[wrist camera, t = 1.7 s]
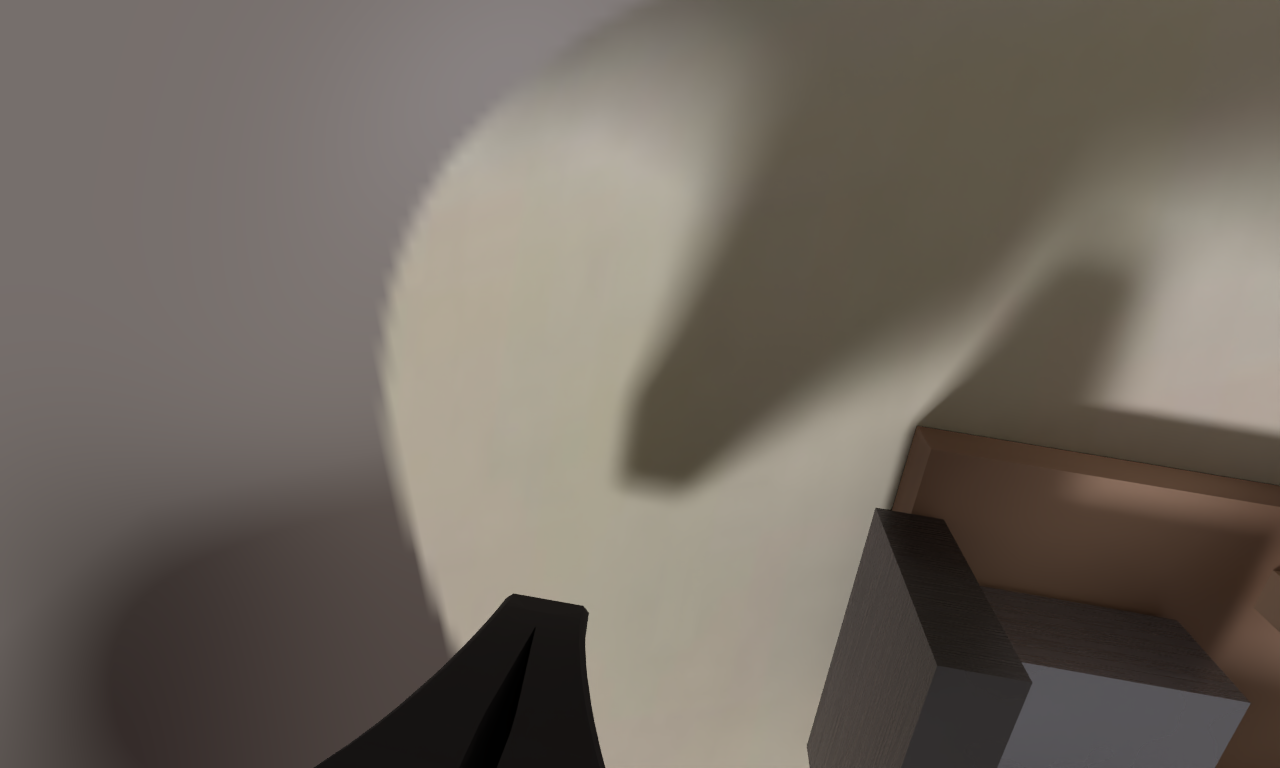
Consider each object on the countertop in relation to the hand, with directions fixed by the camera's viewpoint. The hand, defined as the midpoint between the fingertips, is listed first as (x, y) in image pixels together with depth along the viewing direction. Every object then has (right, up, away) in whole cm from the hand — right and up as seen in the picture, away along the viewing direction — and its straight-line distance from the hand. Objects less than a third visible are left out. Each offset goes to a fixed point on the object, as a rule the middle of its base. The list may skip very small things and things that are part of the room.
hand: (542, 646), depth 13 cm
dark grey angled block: (+8, -1, +1) cm, 8 cm away
